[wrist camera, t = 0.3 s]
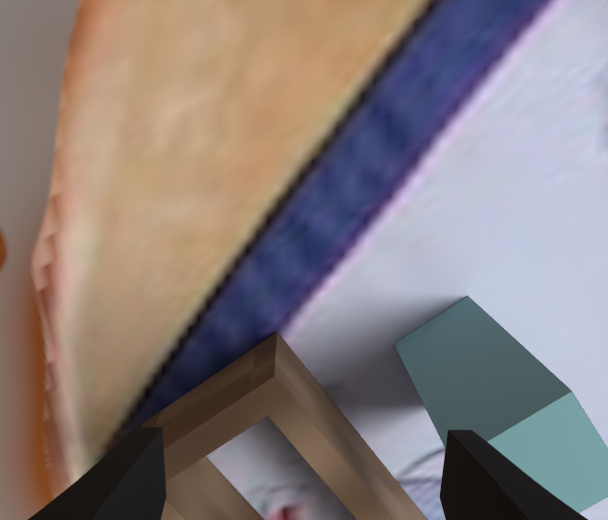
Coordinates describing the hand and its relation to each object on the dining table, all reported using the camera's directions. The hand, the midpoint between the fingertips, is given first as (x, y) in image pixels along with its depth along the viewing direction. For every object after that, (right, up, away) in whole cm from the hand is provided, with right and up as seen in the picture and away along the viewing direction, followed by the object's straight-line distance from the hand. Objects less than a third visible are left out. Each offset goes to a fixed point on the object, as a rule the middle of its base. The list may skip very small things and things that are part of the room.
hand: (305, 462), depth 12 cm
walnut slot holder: (-1, -6, +12) cm, 13 cm away
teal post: (+7, +1, +10) cm, 12 cm away
